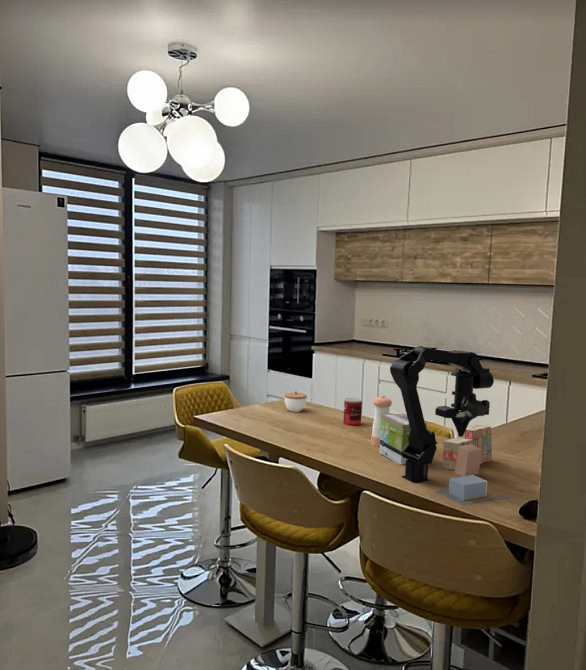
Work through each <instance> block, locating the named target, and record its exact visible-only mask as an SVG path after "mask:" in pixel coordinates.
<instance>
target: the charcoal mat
mask: <svg viewBox="0 0 586 670" xmlns="http://www.w3.org/2000/svg"><path fill="white" fill-rule="evenodd" d="M434 492H435V493H437V494H439V495H441V496H444V497H445V498H446V499H447V498H448V499H450V500H451V501H453V502H455V503H457V504H459V505H461V506H463V507H465V506H470V505H475V504H480V503H481V504H482V503H485V502H492V501H496V500H501V499H507V498H510V496H509V495H502V496H497V497H495V498H494V497H493V498H490V499H489V498H488V499H484V500H479V501H475V502H468V501H466V500H464V501H463V500H461V499H459V498H457V497H455V496H454V495H451V494H449V492H446V491H444V490H442V489H440V490H439V489H438V490H435V491H434Z"/></svg>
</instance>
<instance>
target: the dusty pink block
mask: <svg viewBox="0 0 586 670" xmlns="http://www.w3.org/2000/svg"><path fill="white" fill-rule="evenodd" d="M481 454H482V449H480V448H478V447H476V446H474V445H473V444H471V445H464V446H458V454H457V461H456V468H455V470H454V473H456V474H459V475H462V476H469V475H474V476H476V475H479V473H480V468H481V464H480V461H481Z"/></svg>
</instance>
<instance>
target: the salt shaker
mask: <svg viewBox="0 0 586 670" xmlns="http://www.w3.org/2000/svg"><path fill="white" fill-rule="evenodd" d="M392 402H393V401H392V399H390V398H389V397H385V395H381V396H379V397H376V398H374V400H373V405H374V418H373V424H372V431H371V432H372V434H371V436H370V444H371V445H372V446H373V447H378V446H380V430H381V415H390V407H391V406H392Z"/></svg>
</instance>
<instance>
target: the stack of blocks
mask: <svg viewBox="0 0 586 670" xmlns="http://www.w3.org/2000/svg"><path fill="white" fill-rule="evenodd" d="M442 442H443V445H442V447H443V449H442V450H443V451H442V456H443V457H442V458H443V461H442V462H443V468H445V469H448V470H449V469H450V470H452V471H455V468H456V461H457V454H458V446H464V445H471V444H473V445H474V446H476V447H478V448H480V449H482V454H481V461H480V465H482V464H484V463H488V462H491V461H493V454H492V452H493V451H492V426H488V425H482V424H481V425H480V424H474V425H468V426H467V428H466V431H465V433H464V435H463V437H460V436H459V435H458V434H457V437H456V438H449V439H447V440H443V441H442Z"/></svg>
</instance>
